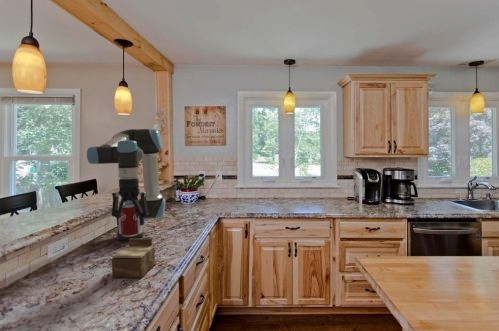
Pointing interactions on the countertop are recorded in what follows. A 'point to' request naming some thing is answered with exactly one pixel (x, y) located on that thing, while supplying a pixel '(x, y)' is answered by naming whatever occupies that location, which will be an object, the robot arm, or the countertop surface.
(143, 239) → the lid
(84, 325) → the countertop surface
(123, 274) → the box
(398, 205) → the countertop surface
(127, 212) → the soda can
